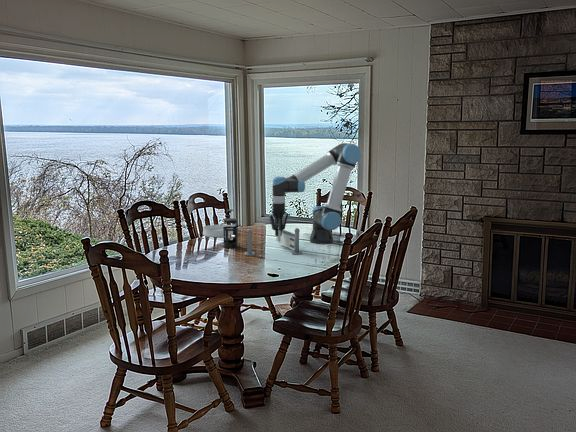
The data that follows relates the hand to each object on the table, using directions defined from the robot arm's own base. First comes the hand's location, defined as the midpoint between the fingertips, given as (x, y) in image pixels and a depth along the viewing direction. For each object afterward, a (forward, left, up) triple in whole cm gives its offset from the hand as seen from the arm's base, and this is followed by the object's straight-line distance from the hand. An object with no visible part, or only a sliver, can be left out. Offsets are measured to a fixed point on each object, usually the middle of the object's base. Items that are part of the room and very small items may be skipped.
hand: (278, 241), depth 323 cm
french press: (+28, -8, -5) cm, 30 cm away
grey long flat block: (-4, +2, -3) cm, 6 cm away
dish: (+36, -48, -5) cm, 60 cm away
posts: (+4, +14, -4) cm, 15 cm away
